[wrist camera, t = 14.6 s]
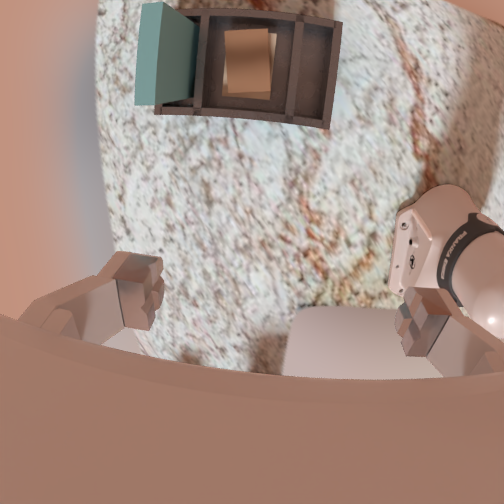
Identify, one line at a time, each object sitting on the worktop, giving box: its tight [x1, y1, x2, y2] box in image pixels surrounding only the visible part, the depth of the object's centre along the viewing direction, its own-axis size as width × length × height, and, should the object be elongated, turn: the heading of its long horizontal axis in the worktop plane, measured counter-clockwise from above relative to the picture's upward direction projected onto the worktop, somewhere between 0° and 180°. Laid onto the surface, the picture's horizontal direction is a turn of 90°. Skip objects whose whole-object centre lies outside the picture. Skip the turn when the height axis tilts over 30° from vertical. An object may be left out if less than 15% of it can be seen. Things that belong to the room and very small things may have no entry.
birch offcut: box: [222, 30, 277, 100], centre depth 35 cm, size 9×6×2 cm, turn 175°
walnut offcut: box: [225, 29, 271, 93], centre depth 33 cm, size 8×5×2 cm, turn 3°
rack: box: [154, 8, 343, 130], centre depth 35 cm, size 14×22×6 cm, turn 85°
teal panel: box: [135, 2, 200, 105], centre depth 29 cm, size 10×2×16 cm, turn 175°
